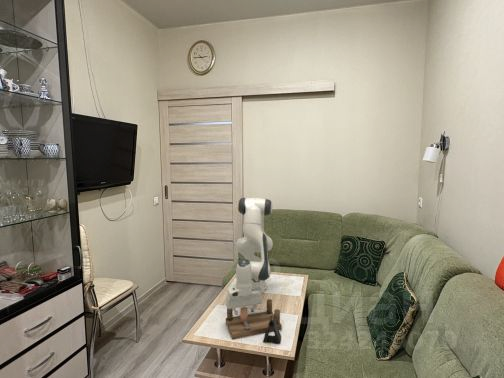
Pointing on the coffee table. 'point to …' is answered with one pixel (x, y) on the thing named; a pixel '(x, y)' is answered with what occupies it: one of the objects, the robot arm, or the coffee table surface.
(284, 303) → the coffee table surface
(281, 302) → the coffee table surface
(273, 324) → the phone stand
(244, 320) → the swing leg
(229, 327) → the stool base
